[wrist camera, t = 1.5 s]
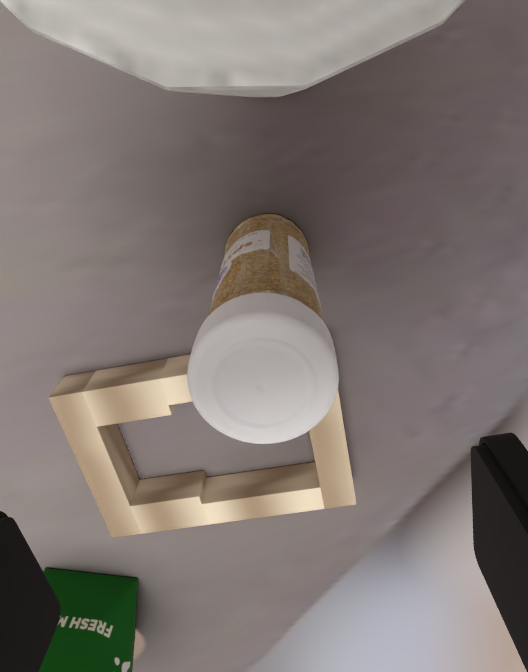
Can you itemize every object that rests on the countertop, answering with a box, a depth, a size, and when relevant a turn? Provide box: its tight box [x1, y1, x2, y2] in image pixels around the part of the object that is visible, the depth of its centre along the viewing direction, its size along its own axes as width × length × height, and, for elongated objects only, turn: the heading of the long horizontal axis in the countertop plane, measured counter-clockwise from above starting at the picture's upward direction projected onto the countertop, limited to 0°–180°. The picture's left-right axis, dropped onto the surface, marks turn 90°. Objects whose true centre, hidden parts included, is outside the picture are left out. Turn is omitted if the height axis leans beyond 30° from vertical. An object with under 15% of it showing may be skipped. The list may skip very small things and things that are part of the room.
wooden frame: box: [49, 354, 356, 538], centre depth 30 cm, size 16×11×2 cm
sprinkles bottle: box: [187, 214, 339, 444], centre depth 20 cm, size 5×5×14 cm
